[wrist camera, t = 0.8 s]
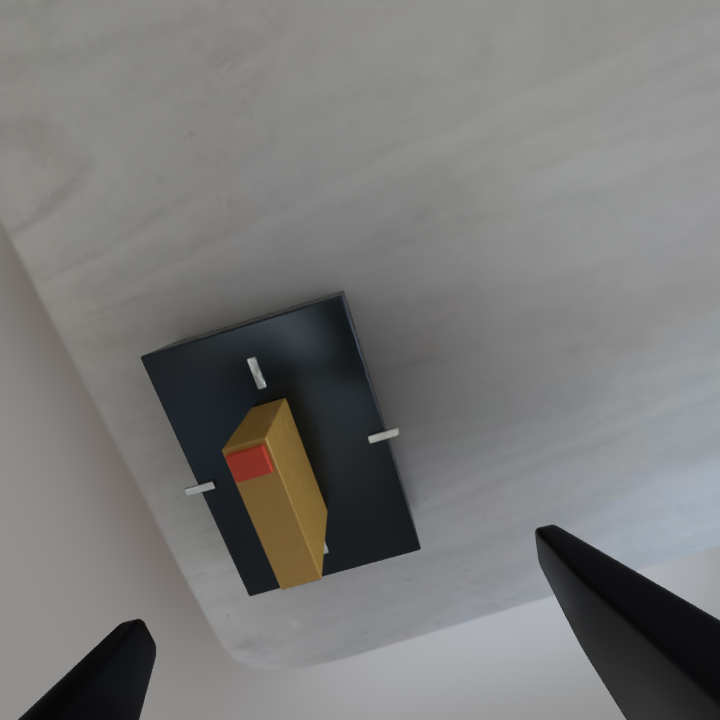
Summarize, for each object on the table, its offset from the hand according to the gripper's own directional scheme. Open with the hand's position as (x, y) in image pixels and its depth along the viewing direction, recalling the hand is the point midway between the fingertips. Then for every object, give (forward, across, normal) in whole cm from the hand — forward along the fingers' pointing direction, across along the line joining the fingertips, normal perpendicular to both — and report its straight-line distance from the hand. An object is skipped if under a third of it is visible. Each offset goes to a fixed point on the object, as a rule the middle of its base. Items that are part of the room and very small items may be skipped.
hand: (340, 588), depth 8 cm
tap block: (+12, +3, +2) cm, 12 cm away
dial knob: (+9, +3, +1) cm, 9 cm away
